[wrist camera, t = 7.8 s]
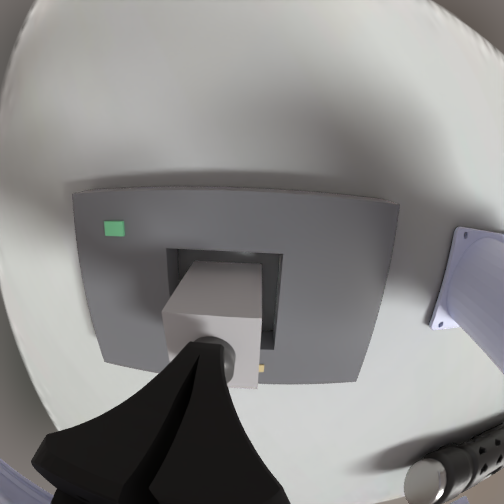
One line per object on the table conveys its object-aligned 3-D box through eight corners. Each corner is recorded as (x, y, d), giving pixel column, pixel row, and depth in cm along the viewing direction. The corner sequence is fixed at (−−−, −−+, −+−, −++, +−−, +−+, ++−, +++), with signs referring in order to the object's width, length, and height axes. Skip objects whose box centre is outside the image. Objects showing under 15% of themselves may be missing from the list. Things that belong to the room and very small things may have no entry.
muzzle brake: (490, 438, 27) (507, 469, 17) (393, 471, 26) (408, 521, 16) (517, 406, 24) (538, 437, 14) (428, 438, 23) (451, 494, 13)
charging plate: (384, 199, 14) (401, 205, 12) (349, 363, 18) (356, 383, 16) (90, 189, 15) (70, 194, 13) (115, 346, 18) (103, 363, 16)
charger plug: (261, 263, 16) (262, 333, 9) (259, 321, 17) (257, 404, 11) (194, 260, 16) (153, 324, 9) (197, 318, 17) (168, 395, 11)
